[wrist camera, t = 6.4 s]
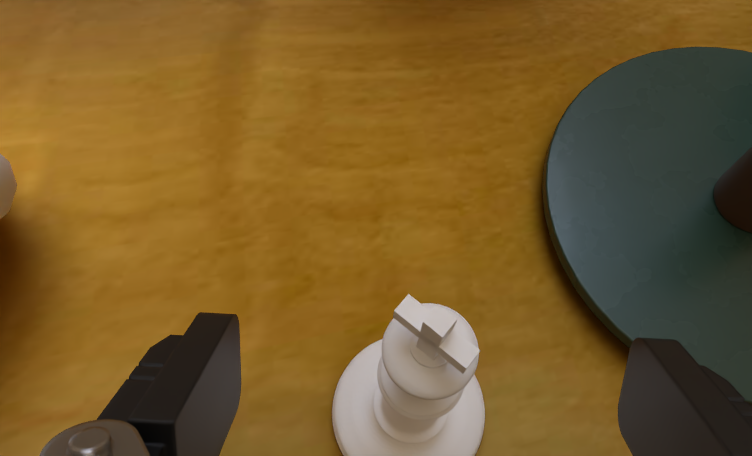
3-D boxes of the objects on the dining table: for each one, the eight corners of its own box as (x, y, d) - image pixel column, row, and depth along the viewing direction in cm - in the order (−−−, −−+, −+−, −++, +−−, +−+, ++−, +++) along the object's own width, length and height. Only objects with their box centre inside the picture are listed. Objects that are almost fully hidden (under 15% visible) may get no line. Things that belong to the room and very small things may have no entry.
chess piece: (397, 309, 21) (417, 153, 12) (513, 402, 20) (634, 305, 11) (300, 420, 20) (241, 336, 10) (420, 531, 18) (470, 542, 9)
